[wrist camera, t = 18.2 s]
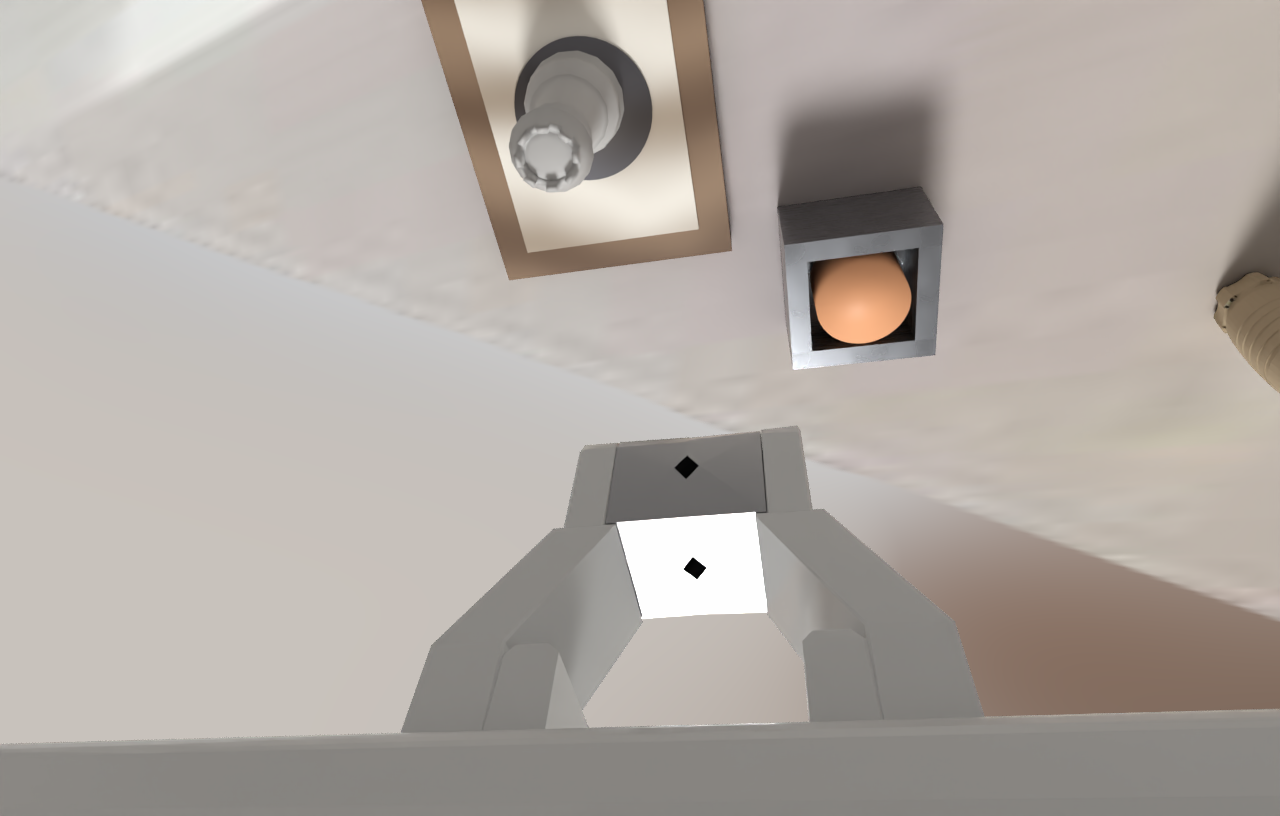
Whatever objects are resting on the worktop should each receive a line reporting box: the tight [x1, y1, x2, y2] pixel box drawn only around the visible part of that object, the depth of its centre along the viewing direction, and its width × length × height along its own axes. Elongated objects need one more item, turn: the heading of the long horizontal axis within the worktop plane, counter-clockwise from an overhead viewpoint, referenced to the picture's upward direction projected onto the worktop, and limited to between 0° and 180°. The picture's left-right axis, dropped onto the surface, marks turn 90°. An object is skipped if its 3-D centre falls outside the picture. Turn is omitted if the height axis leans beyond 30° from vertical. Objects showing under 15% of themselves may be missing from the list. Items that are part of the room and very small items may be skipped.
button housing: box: [777, 187, 943, 370], centre depth 38 cm, size 7×7×4 cm
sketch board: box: [421, 0, 732, 280], centre depth 35 cm, size 16×12×2 cm
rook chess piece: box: [509, 50, 624, 193], centre depth 31 cm, size 4×4×8 cm
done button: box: [810, 251, 911, 344], centre depth 37 cm, size 4×4×3 cm
